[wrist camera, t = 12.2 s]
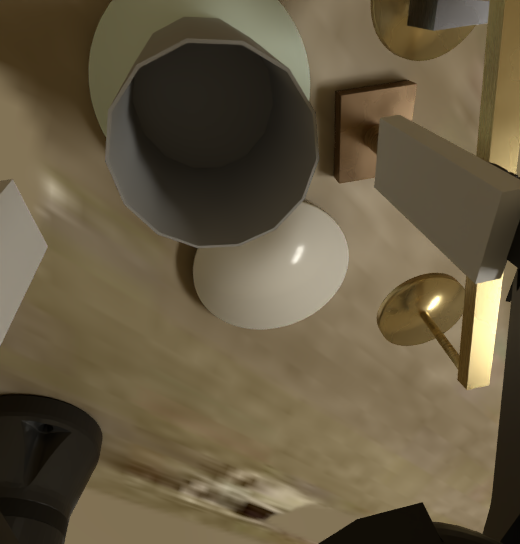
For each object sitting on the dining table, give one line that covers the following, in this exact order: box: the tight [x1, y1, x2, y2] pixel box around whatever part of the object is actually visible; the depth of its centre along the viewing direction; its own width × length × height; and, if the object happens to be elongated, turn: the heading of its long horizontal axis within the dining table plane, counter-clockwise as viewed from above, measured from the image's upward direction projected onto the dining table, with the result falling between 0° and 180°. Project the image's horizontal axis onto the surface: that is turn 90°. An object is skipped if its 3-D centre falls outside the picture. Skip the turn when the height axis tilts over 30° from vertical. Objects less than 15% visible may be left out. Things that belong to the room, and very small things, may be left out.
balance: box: [334, 0, 520, 390], centre depth 21 cm, size 22×6×16 cm, turn 6°
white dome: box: [193, 201, 349, 329], centre depth 32 cm, size 13×13×1 cm
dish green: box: [88, 0, 310, 137], centre depth 24 cm, size 13×13×1 cm
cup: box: [105, 17, 319, 248], centre depth 19 cm, size 8×8×10 cm
